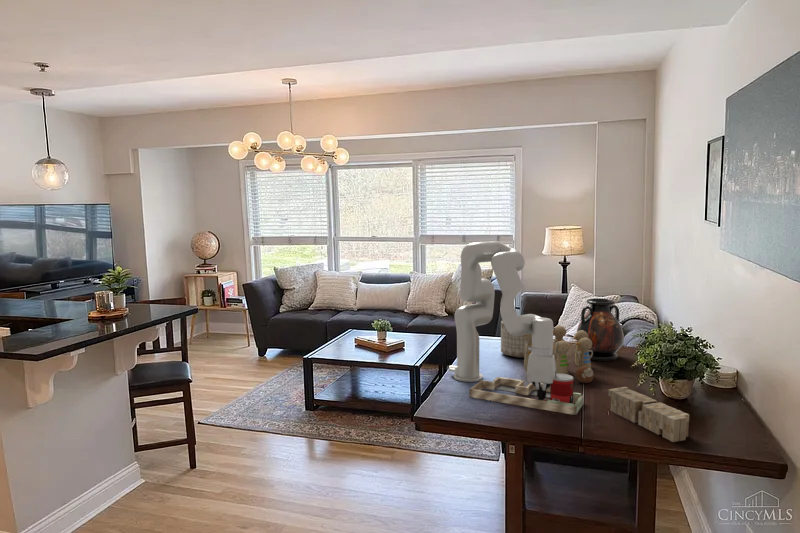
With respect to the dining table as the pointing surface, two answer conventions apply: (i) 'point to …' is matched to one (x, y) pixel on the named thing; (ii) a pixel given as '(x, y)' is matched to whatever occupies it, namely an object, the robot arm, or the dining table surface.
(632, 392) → the block tower
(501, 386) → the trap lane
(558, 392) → the canned food
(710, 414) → the dining table surface
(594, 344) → the amphora vase
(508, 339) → the planter
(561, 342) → the bowling set
